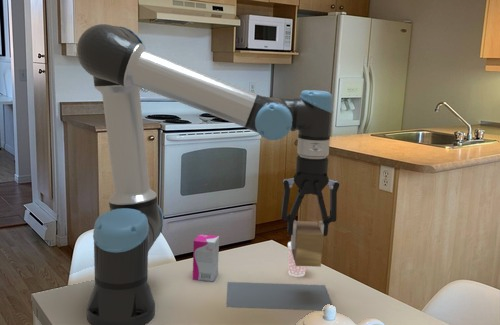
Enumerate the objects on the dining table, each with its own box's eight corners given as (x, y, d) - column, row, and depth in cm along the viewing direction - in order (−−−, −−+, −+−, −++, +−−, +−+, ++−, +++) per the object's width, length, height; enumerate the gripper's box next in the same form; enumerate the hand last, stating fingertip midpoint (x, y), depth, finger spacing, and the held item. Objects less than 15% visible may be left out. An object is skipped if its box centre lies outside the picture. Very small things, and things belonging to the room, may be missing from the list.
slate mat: (226, 309, 124) (226, 307, 124) (227, 283, 138) (227, 281, 138) (334, 312, 125) (334, 310, 125) (324, 287, 139) (325, 285, 138)
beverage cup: (290, 268, 149) (293, 222, 147) (310, 273, 147) (314, 226, 144) (282, 276, 144) (285, 228, 141) (303, 281, 141) (307, 232, 139)
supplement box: (218, 275, 143) (220, 235, 140) (213, 284, 137) (214, 242, 135) (198, 272, 144) (199, 233, 141) (191, 281, 138) (193, 240, 136)
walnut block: (291, 250, 134) (293, 220, 132) (314, 251, 134) (316, 221, 133) (295, 265, 124) (297, 234, 123) (320, 266, 125) (323, 234, 123)
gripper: (274, 157, 120) (269, 251, 125) (355, 160, 121) (347, 254, 125) (271, 151, 127) (267, 240, 132) (348, 154, 128) (341, 243, 133)
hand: (306, 247), depth 129 cm, fingers closed on walnut block, 6 cm apart
